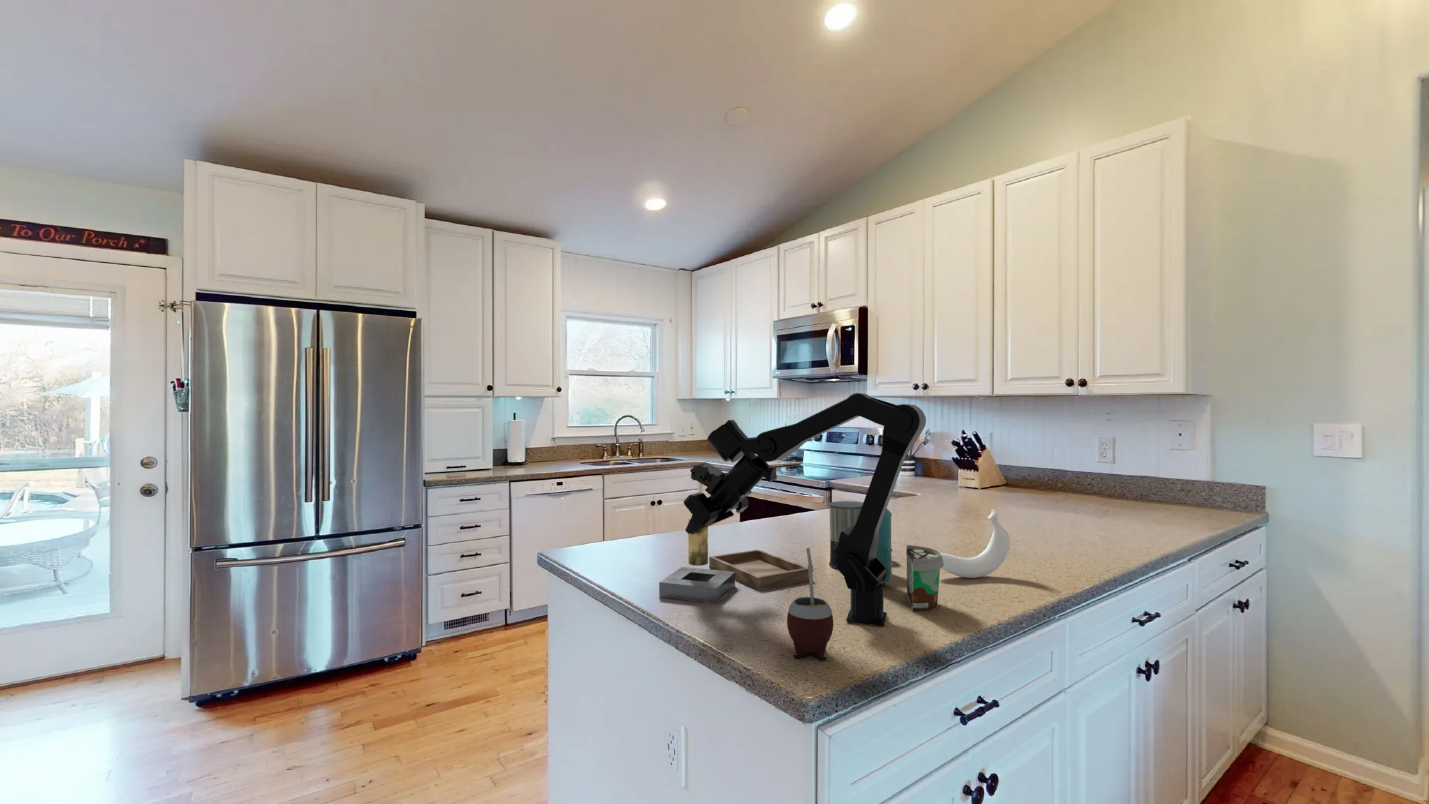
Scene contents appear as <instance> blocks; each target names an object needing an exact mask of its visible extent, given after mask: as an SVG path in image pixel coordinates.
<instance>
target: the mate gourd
mask: <svg viewBox="0 0 1429 804" xmlns="http://www.w3.org/2000/svg"><path fill="white" fill-rule="evenodd" d="M806 555H807V563H808V565H807V567H808V572H809V580H808V582H809V596H804V597H802V596H801V597H798V598H795V599H794V600H793V601H792V602H791V603H790V605H789V607H788V611H787V616H786V627H787V632H788V634H789V637H790V639H791V640H792V642H793V646H794V651H795V654H794V655H793V658H794V660H796V661H799V660H802V659H805V658H808V657H811V658H814V659H816V660H818V661H820V662H822V663H823V662H826V661H827V656H825V654H826V650H827V646H828V643H829V641H830V640H831V637H832V634H833V631H834V616H833V610H832V608H831V607H830V605H829V604H828V602H827V600H826V601H825V600H824V599H822V598H819V597H815V596H814V595H815V594H814V592H815V591H814V581H813V580H814V576H813V572H814V565H813V562H812V555H811V548H809V547H806Z"/></svg>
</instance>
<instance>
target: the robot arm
mask: <svg viewBox="0 0 1429 804" xmlns="http://www.w3.org/2000/svg"><path fill="white" fill-rule="evenodd" d="M859 417H861V418H863V419H866V420H867V421H870V422H873V423H874V424H877V425H879V426H883V430H882V436H881V437H882V439H881V440H882V441H881V451H880V455H879V458H878V461H877V464H876V467H875V469H874V471H873V475H872V477H871V480H870V483H869V486H868V488H867V492H866V495H865V498H864V499H863V505H862V508H861V511H860V513H859V516H858V519H857V522H856V524H855V526H854V527H853V528H852V527H851V526H849V527H848V528H846V529H845V530H843V531H842V532H841V533H840V537H839V543H838V546H837V548H836V549H835V550H834V551H833V553H837V554H836V557H835V565H836V566H837V568H838V569H837V570H838V571H839V572H840V574H841V575H842V576H843V578H844V581H845V585H846V587H847V589H849V590H850V609H849V612H848V614H847V615H846V616H847V617H846V623H850V624H851V623H852V624H859V625H867V626H875V627H885V626H886V622H887V621H886V620H887V616H888V615H887V614H888V613H887V612H886V611H884V583H882V582H883V581H884V580H885V579H886V576H887V573H888V569H887V568H886V566H885V565H884V564H883V563H882V562H881V561H880V560H879V559H878V558H877V557H876V554H877V548H878V538H879V528H880V525H881V522H882V519H883V517H884V514H885V511H886V508H887V509H888V505H889V503H890V500H891V497H892V495H893V492H894V489H895V486H896V485H897V480H898V478H899V476H900V473H901V471H902V467H903V465H904V462H905V459H906V457H907V456H908V454H909V453H910V452H911V450H912V448H913V447H914V445H915V444H916V442H917V441H918V439H919V438H920V436H921V434H922V432H923V431H924V428H925V427H926V423H927V417H926V415H925V413H924V411H923V410H922V409H921V408H920V407H919V406H917V405H915V404H911V403H901V404H895V403H891V402H888V401H885V400H882V399H878V398H876V397H872V396H870V395H869V394H866V393H863V392H861V393H860V392H856V393H853V394H850V395H849V396H848V397H847V398H845V399H843V400H841V401H838V402H836V403H835V404H833V405H830V406H828V407H826V408H825V409H823V410H820V411H817V412H816V413H814V414H812V415H810V416H808V417H806V418H804V419H802V420H800V421H798V422H796V423H792V424H789V425H785V426H781V427H777V428H773V429H770V430H766V431H763V432H761V433H759V434H758V435H756V436H754V437H748V435H746V433H745V432H744V431H743V429H741V428H740V426H739V425H738V423H737V422H736V421H735V420H734V419H728V420H727V421H726V422H725V423H723V424H721V425H720V426H719V427H716V429H714V430H712V431H711V432H710V434H708V436H707V438H706V441H707V443H708V444H709V445H710V447H712V449H713V450H714V451H715V452H716V454H717V455H718V456H719V457H720V458H721V460H723V461H724V462H725V463H727V462H729V461H730V462H731V463H735V462H736V463H735V464H734V465H733V466H732V467H731V469H729V470H728V471H727V472H723V470H721V469H719V468H718V467H715V466H714V465H712V464H710V463H709V462H705V461H702V462H697V463H695V464H694V465H693V467H692V468H690V479H692V481H696V482H698V483H700V484H701V485H703V486H704V487H706V488H705V491H706V493H707V495H710V496H707V495H706V494H705V493H704V492H695V493H691V494H689V495H688V496H687V497H686V498H685V499H684V500H683V505H684V506H685V507H686V508H687V510H688V511H689V512H690V514H691V515H692V516H691V517H690V518H691V519H690V521H689V523H687V526H686V528H685V532H686V533H687V535H688V534H690V533H692V532H695V531H697V530H699V529H702V528H704V527H706V526H708V527H709V526H712V525H714V524H717V523H720V522H723V521H724V520H727V519H729V518H732V517H734V516H735V514H734V512H733V510H735V512H736V514H740V513H743V512H744V511H745V510H746V509H747V508H748V507H749V499H748V496H750V495H751V494H752V492H753V491H752V490H753V489H754V488H755V487H756V486H757V484H758V483H760V482H761V480H763V478H765V480H766V481H767V483H768V482H773V481H776V480H777V479H778V477H777V476H778V475H777V467H778V466H776V465H774V466H771V465H770V464H769V463H770V462H771V463H772V462H776V461H779V460H783V459H786V458H788V457H789V456H790V455H793V453H795V452H797V450H799V449H800V448H801V447H802V446H803V445H804V444H806V443H807V442H808V441H810V440H813V439H815V438H816V437H818V436H820V435H823V434H825V433H826V432H829V431H832V430H833V429H836V428H837V427H840V426H842V425H844V424H847V423H849V422H850V421H853V420H855V419H856V418H857V419H858V418H859Z"/></svg>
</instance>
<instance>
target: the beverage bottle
mask: <svg viewBox="0 0 1429 804" xmlns="http://www.w3.org/2000/svg"><path fill="white" fill-rule="evenodd" d="M891 548H892V512H891V511H890V510H889V508H888V507H887V508H886V511H885V514H884V517H883V519H882V522H881V525H880V528H879V538H878V548H877V554H876V557H877V558H878V559H879V560H880V561H881V562H882V563H883V564H884V565H885V566H886V568H887V569H888V573H887V576H886V579H885V580H884V581H883V582H882V584H886V583H890V582H892V578H893V577H892V576H893V575H892V574H893V570H892V568H893V563H892V551H891Z"/></svg>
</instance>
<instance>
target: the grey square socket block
mask: <svg viewBox="0 0 1429 804" xmlns="http://www.w3.org/2000/svg"><path fill="white" fill-rule="evenodd" d="M658 583H659V586H658V587H659V588H658V590H659V591H658V592H659V595H658V596H659V597H658V598H662V599H670V598H673V599H672V600H678V599H679V601H689V602H696V601H697V603H703V604H704V603H705V604H706V603H707V604H715V605H716V604H718V603H719V602H720V601H722V599H724V597H726V596H727V595H728V594H729V593H730V592H731V591H732V590H733V589H734V588H735V587H736V579H735V572H730V571H720V570H714V569H711V568H710V569H709V568H708V569H707V568H697V567H689V566H688V567H687V566H682V567H680V568H679V569H677V570H676V571H673V573H671V574H670V575H668V576H666V577H665V578H663V579H661V581H659V582H658ZM731 589H732V590H731ZM729 591H730V592H729Z"/></svg>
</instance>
